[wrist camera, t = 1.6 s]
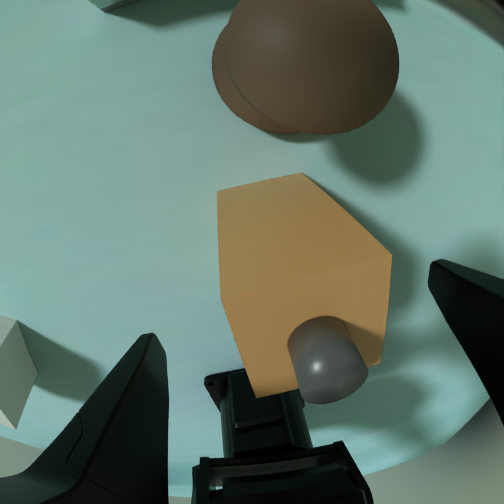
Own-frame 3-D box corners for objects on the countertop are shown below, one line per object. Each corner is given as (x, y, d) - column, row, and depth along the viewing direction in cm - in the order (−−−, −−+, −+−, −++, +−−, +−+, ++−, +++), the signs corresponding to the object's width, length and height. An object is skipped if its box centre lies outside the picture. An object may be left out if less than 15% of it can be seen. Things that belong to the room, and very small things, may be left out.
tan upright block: (312, 247, 15) (399, 398, 7) (236, 265, 15) (263, 439, 7) (301, 172, 13) (426, 291, 5) (216, 191, 13) (223, 348, 5)
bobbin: (355, 122, 12) (419, 137, 8) (228, 144, 12) (236, 166, 8) (332, 5, 10) (386, -30, 5) (199, 19, 10) (191, -26, 5)
